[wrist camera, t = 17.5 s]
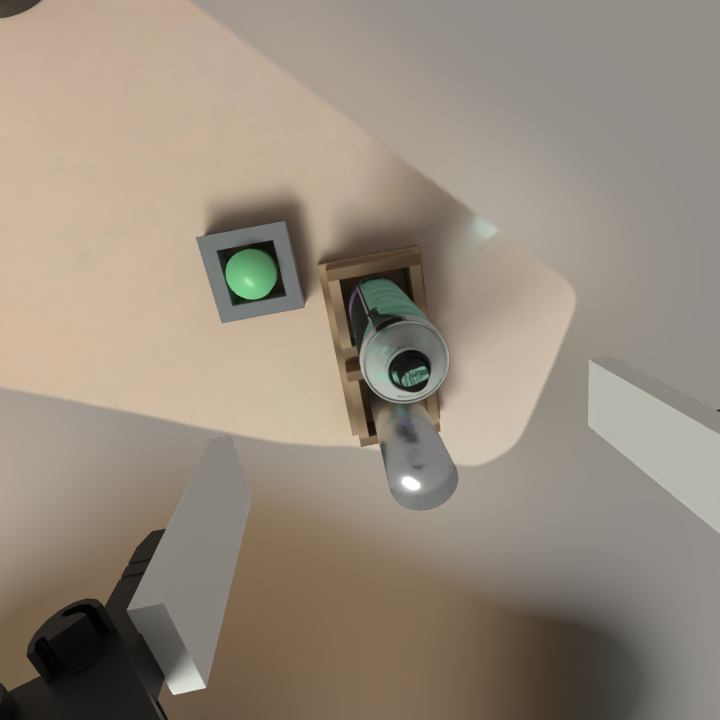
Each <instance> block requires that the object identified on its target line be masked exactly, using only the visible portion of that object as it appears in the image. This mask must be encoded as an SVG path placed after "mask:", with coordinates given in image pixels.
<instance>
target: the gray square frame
mask: <svg viewBox="0 0 720 720" xmlns="http://www.w3.org/2000/svg"><path fill="white" fill-rule="evenodd" d="M196 239H197V242H198V246H199V249H200V252H201V256H202V259H203V262H204V266H205V269H206V272H207V275H208V279H209V282H210V285H211V289H212V292H213V295H214V299H215V302H216V305H217V309H218V312H219V315H220V319H221V322H222V323H226V322H231V321H237V320H242V319H247V318H252V317H258V316H263V315H268V314H274V313H279V312H284V311H289V310H295V309H300V308H304V307H305V298H304V293H303V289H302V284H301V280H300V276H299V271H298V267H297V262H296V258H295V253H294V249H293V244H292V240H291V235H290V231H289V227H288V222H287V221H281V222H276V223H270V224H265V225H260V226H254V227H249V228H244V229H238V230H233V231H228V232H222V233H217V234H212V235H206V236H201V237H196ZM270 240H273V242H274V246H275V250H276V254H277V258H278V263H279V267H280V271H281V275H282V279H283V283H284V288H285V292H283V293H277V294H272V295H267V296H264V297H262V298H259V299H246V300H240V301H237V297H236V294H235V292H234V291H233V290H232V289H231V288H230V286H229V284H228V282H227V279H226V266H227V262H226V258H225V255H224V251H223V249H227V248H232V247H238V246H243V245H248V244H254V243H259V242H264V241H270Z"/></svg>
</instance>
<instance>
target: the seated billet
mask: <svg viewBox="0 0 720 720" xmlns="http://www.w3.org/2000/svg"><path fill="white" fill-rule="evenodd" d="M368 397H369V402H370V406H371V410H372V414H373V419H374V423H375V427H376V432H377V436H378V440H379V444H380V449H381V453H382V457H383V461H384V466H385V470H386V474H387V479H388V482H389V487H390V491H391V493H392V496H393V498H394V499H395V500H396V501H397V502H398V503H399V504H400V505H402V506H404V507H406V508H408V509H412V510H429V509H432V508H435V507H438V506H440V505H441V504H443V503H444V502H446V501H447V500H448V499H449V498H450V497H451V496H452V494H453V493H454V491H455V489H456V487H457V484H458V472H457V469H456V467H455V465H454V463H453V461H452V459H451V457H450V455H449V453H448V451H447V449H446V447H445V445H444V443H443V441H442V439H441V438H440V436H439V434H438V432H437V430H436V428H435V426H434V424H433V422H432V420H431V418H430V416H429V414H428V412H427V410H426V408H425V406H424V404H423V402H422V400H419V401H416V402H411V403H395V402H391V401H388V400H385V399H383V398H382V397H380V396H378V395H377V394H376V393H375V392H374V391H373V390H372V389H371V388H370V386H369V387H368Z"/></svg>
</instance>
